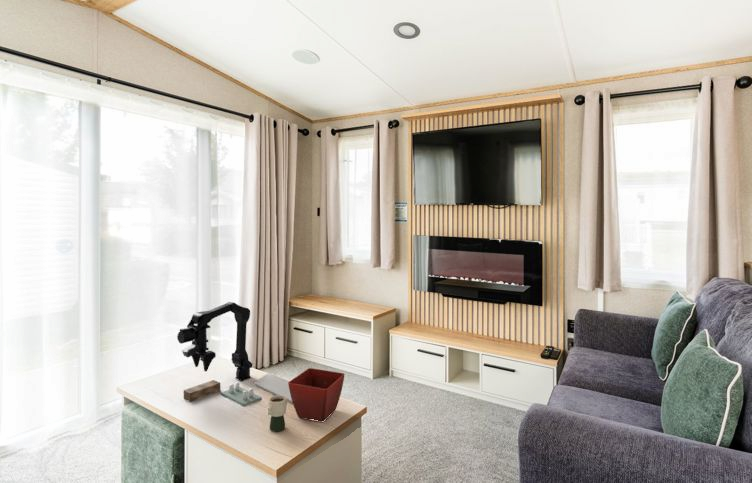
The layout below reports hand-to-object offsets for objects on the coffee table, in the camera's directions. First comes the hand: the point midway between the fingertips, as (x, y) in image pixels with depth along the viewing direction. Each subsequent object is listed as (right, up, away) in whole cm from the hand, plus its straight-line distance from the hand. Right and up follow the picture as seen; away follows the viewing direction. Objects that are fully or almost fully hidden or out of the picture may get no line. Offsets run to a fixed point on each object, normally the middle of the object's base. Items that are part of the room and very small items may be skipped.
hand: (201, 369), depth 200 cm
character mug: (+46, -15, -32) cm, 58 cm away
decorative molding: (+39, -14, +5) cm, 42 cm away
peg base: (+21, -13, -2) cm, 24 cm away
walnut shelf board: (+1, -13, 0) cm, 13 cm away
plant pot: (+61, -15, -19) cm, 65 cm away
